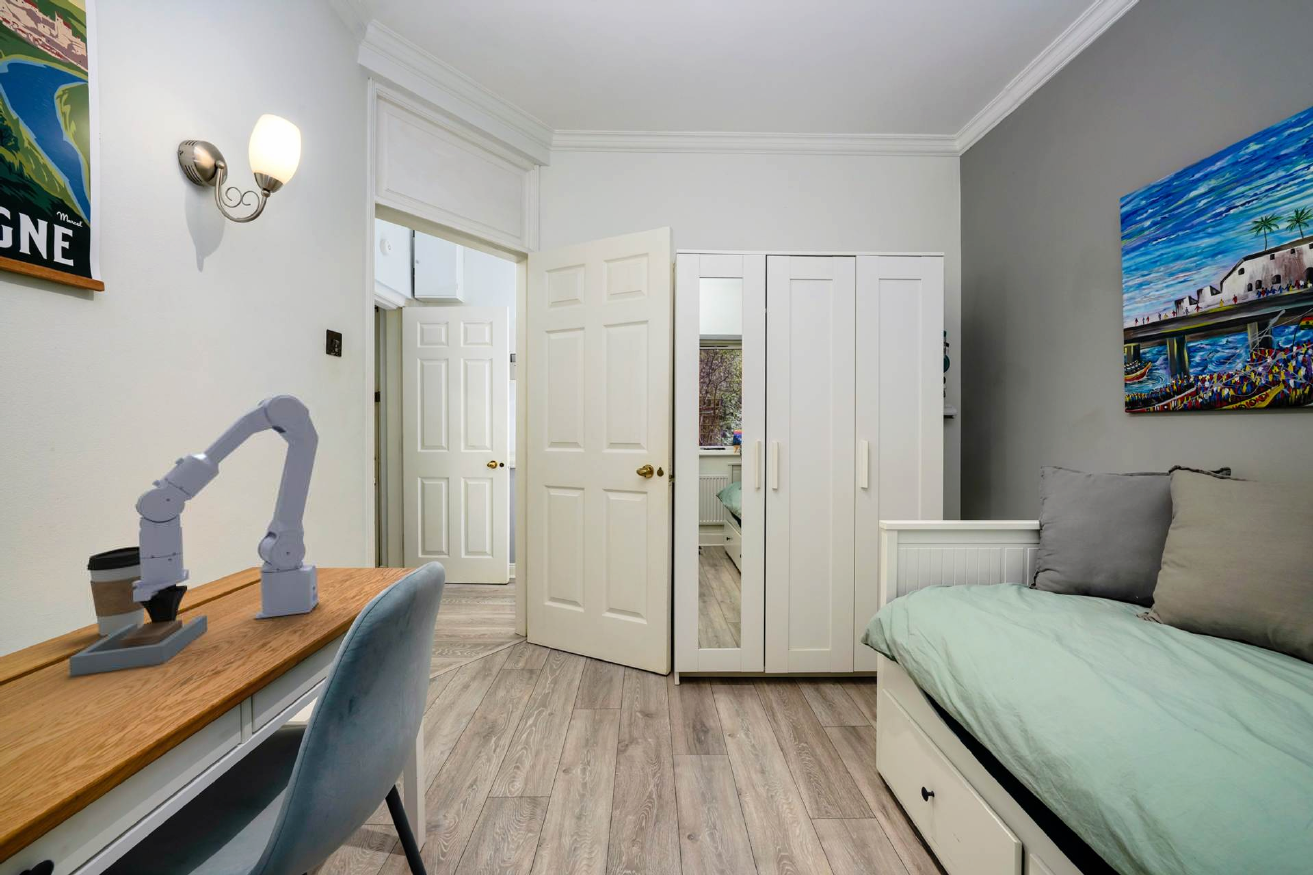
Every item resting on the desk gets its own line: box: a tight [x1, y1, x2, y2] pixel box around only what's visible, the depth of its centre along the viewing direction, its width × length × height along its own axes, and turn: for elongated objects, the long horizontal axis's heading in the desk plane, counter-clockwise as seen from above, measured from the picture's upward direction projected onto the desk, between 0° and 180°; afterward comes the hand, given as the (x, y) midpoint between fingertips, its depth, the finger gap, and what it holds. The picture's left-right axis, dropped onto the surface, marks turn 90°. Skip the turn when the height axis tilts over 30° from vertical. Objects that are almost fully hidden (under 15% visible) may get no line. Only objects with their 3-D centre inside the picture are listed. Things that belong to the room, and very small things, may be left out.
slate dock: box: [69, 614, 208, 677], centre depth 91 cm, size 11×16×3 cm
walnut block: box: [120, 619, 183, 649], centre depth 92 cm, size 5×8×4 cm, turn 20°
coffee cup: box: [86, 545, 145, 637], centre depth 102 cm, size 8×8×15 cm
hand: (164, 629), depth 97 cm, fingers closed
